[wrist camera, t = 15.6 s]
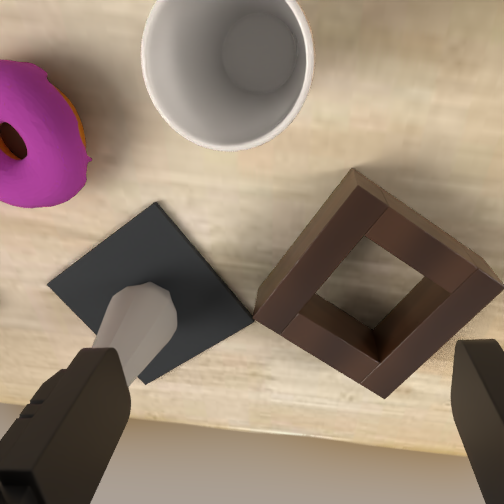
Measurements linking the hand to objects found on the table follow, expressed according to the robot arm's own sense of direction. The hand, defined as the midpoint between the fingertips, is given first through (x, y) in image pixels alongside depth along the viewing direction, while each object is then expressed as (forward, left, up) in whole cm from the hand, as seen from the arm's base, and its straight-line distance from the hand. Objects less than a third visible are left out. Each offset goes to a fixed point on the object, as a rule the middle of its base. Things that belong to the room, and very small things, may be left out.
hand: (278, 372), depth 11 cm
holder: (+11, -1, -25) cm, 27 cm away
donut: (-13, -15, -25) cm, 32 cm away
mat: (+3, -18, -25) cm, 31 cm away
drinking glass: (-7, +2, -25) cm, 26 cm away
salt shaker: (+3, -18, -24) cm, 30 cm away
